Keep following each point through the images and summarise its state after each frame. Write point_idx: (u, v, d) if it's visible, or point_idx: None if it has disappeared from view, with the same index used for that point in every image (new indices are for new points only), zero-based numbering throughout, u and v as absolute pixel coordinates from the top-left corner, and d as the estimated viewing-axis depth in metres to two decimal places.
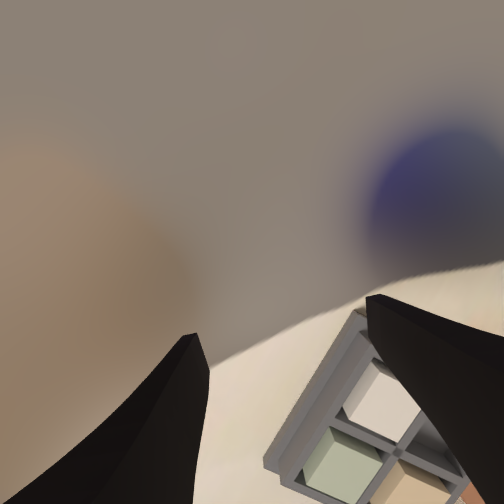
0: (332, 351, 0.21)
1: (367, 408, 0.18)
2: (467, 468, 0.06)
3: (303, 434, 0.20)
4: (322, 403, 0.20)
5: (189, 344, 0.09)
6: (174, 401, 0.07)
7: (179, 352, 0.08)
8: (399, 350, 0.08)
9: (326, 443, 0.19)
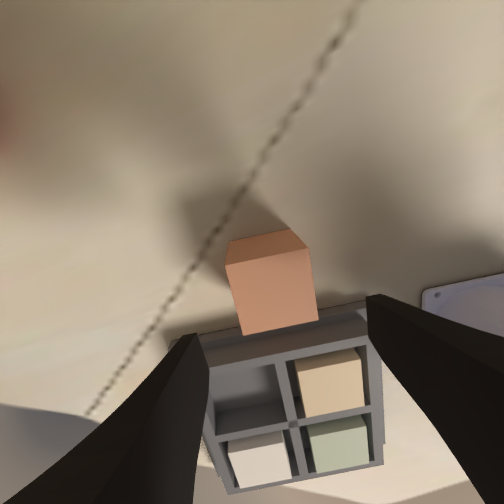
0: None
1: (273, 476, 0.20)
2: (467, 468, 0.06)
3: None
4: None
5: (189, 344, 0.09)
6: (174, 401, 0.07)
7: (179, 352, 0.08)
8: (399, 350, 0.08)
9: None
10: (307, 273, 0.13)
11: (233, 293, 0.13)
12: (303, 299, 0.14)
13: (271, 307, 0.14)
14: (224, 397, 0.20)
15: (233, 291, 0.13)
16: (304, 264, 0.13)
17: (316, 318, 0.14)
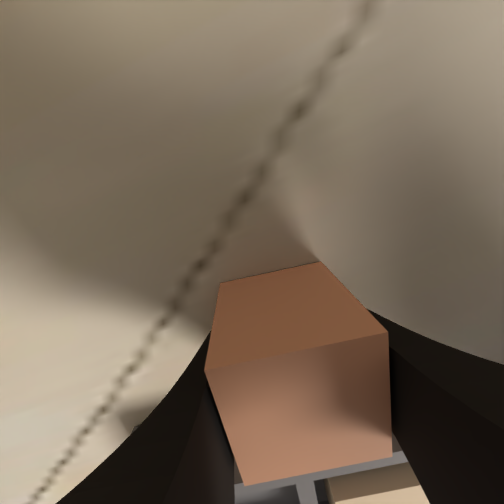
0: None
1: None
2: (419, 477, 0.06)
3: None
4: None
5: None
6: None
7: None
8: None
9: None
10: (379, 379, 0.06)
11: (224, 418, 0.06)
12: (367, 424, 0.07)
13: (300, 440, 0.07)
14: None
15: (224, 415, 0.06)
16: (376, 364, 0.06)
17: (388, 454, 0.07)
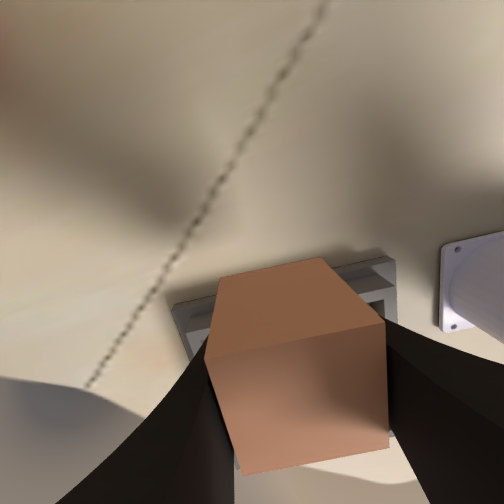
0: None
1: None
2: (420, 477, 0.06)
3: None
4: None
5: None
6: None
7: None
8: None
9: None
10: (376, 369, 0.06)
11: (223, 407, 0.06)
12: (364, 415, 0.07)
13: (298, 430, 0.07)
14: None
15: (223, 404, 0.06)
16: (373, 354, 0.06)
17: (385, 445, 0.07)
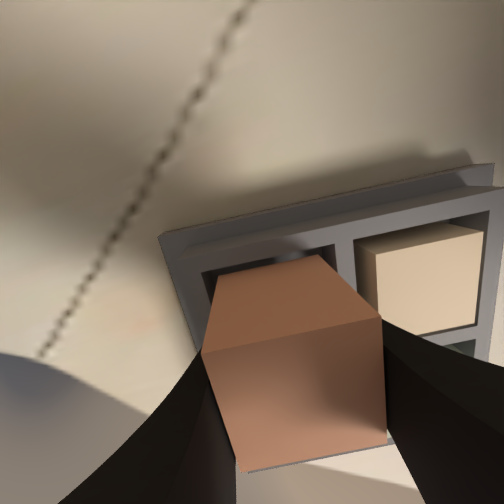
0: None
1: None
2: (416, 477, 0.06)
3: None
4: None
5: None
6: None
7: None
8: None
9: None
10: (373, 364, 0.06)
11: (220, 403, 0.06)
12: (361, 409, 0.07)
13: (295, 425, 0.07)
14: None
15: (220, 400, 0.06)
16: (370, 348, 0.06)
17: (383, 441, 0.07)
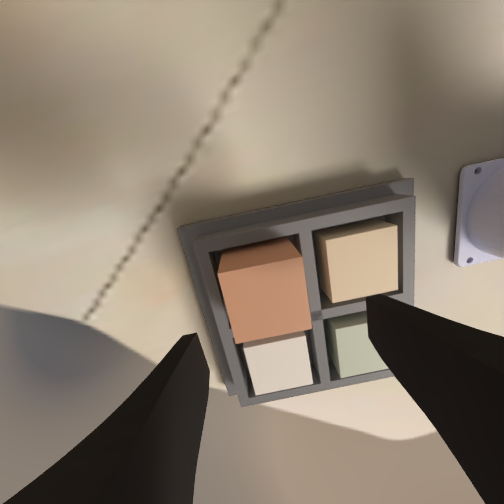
0: None
1: (292, 380, 0.18)
2: (466, 467, 0.06)
3: None
4: None
5: (189, 344, 0.09)
6: (174, 401, 0.07)
7: (179, 352, 0.08)
8: (399, 350, 0.08)
9: None
10: (301, 282, 0.13)
11: (226, 301, 0.13)
12: (297, 307, 0.13)
13: (264, 316, 0.13)
14: None
15: (226, 299, 0.13)
16: (298, 273, 0.13)
17: (309, 327, 0.14)
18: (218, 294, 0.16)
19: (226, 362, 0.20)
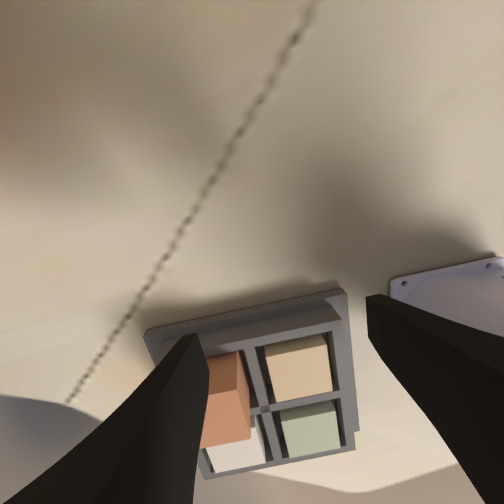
0: None
1: (247, 460, 0.21)
2: (466, 467, 0.06)
3: None
4: None
5: (189, 344, 0.09)
6: (174, 401, 0.07)
7: (179, 352, 0.08)
8: (399, 350, 0.08)
9: None
10: (237, 406, 0.15)
11: None
12: (236, 424, 0.16)
13: (208, 431, 0.16)
14: None
15: None
16: (234, 401, 0.15)
17: (248, 437, 0.16)
18: None
19: None
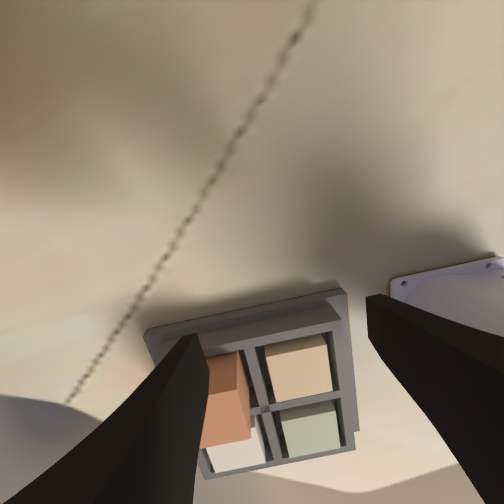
0: None
1: (247, 460, 0.21)
2: (466, 467, 0.06)
3: None
4: None
5: (189, 344, 0.09)
6: (174, 401, 0.07)
7: (179, 352, 0.08)
8: (399, 350, 0.08)
9: None
10: (237, 406, 0.15)
11: None
12: (236, 424, 0.16)
13: (208, 431, 0.16)
14: None
15: None
16: (234, 401, 0.15)
17: (248, 437, 0.16)
18: None
19: None
